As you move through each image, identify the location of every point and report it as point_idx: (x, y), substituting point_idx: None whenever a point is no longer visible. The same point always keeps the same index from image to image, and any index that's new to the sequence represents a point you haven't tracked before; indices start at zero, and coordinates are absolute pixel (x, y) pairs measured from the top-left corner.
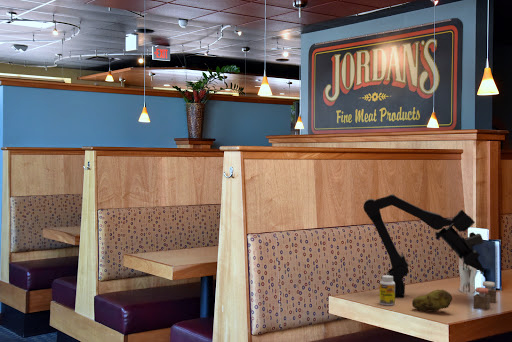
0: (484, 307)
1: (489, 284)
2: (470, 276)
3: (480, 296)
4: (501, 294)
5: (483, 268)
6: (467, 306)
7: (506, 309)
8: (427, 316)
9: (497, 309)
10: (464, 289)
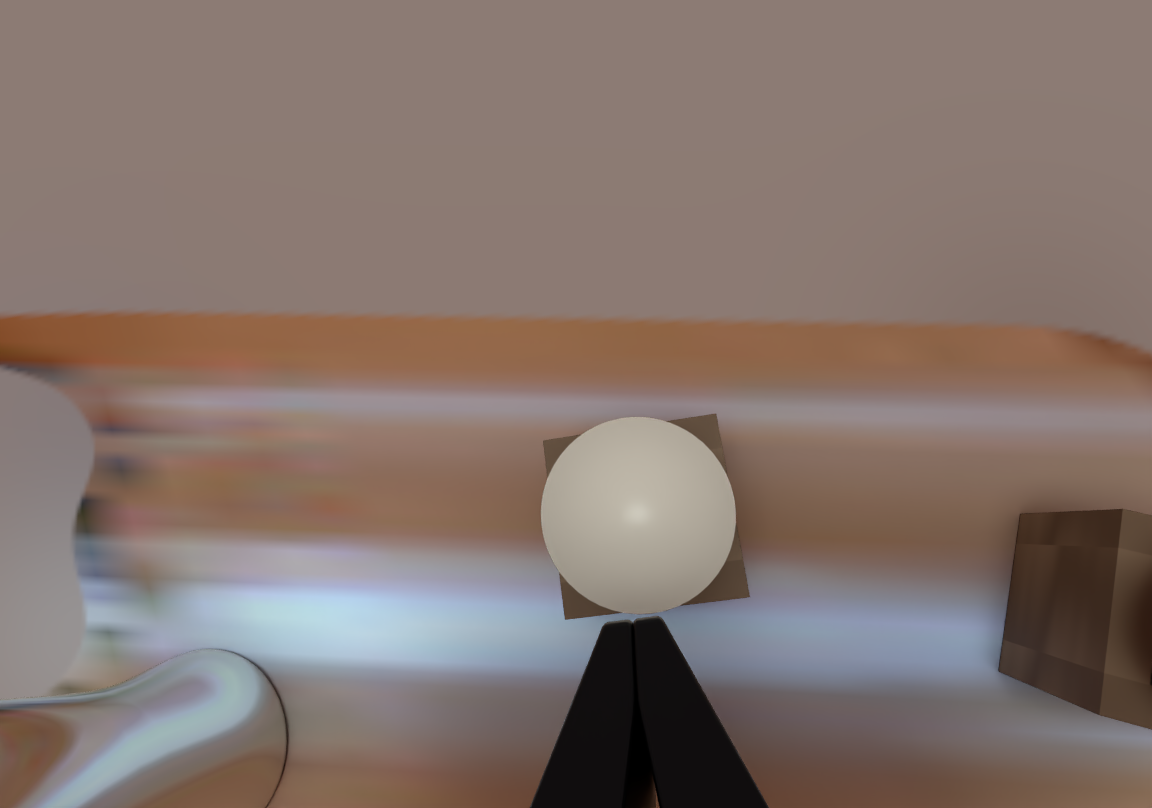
0: None
1: (732, 504)
2: (115, 796)
3: None
4: (255, 370)
5: (684, 664)
6: (1102, 797)
7: (1010, 335)
8: None
9: (1069, 430)
10: (250, 800)
